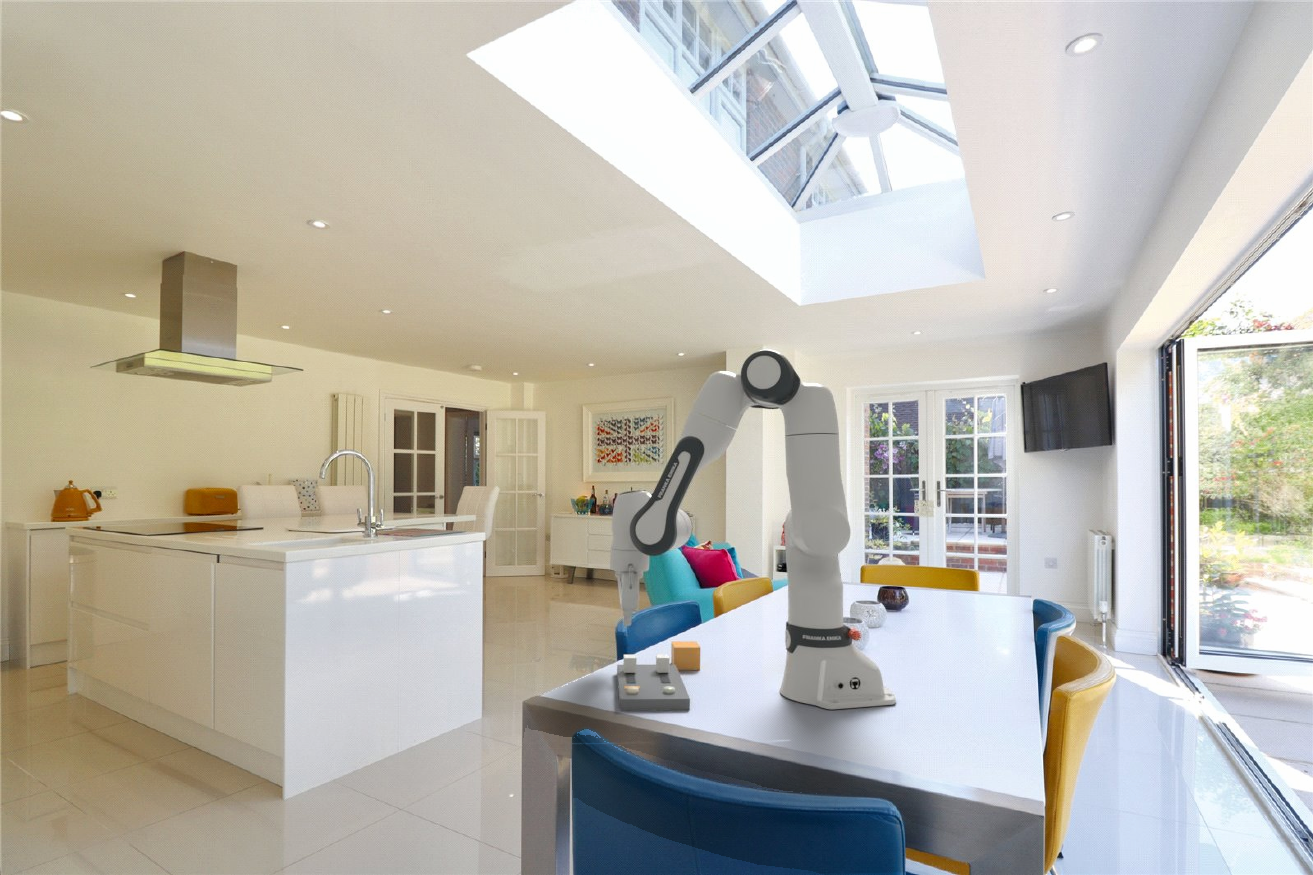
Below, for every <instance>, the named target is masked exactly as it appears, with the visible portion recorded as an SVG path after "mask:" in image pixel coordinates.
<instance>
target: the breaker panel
mask: <svg viewBox="0 0 1313 875" xmlns="http://www.w3.org/2000/svg"><path fill="white" fill-rule="evenodd" d="M616 667H617V669H616V670H617V671H616V676H617V691H618V702H619V711H690V710H691V709H690V708H691V698H690V695H689V694H688V691H687V689H686V686H685V684H684V681H683V679H682V677H681V674H680V672H679V671H680V670H678V669H677V667H676V664H669V673H657V671H656V664H636V673H624V670H623V664H616Z"/></svg>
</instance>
